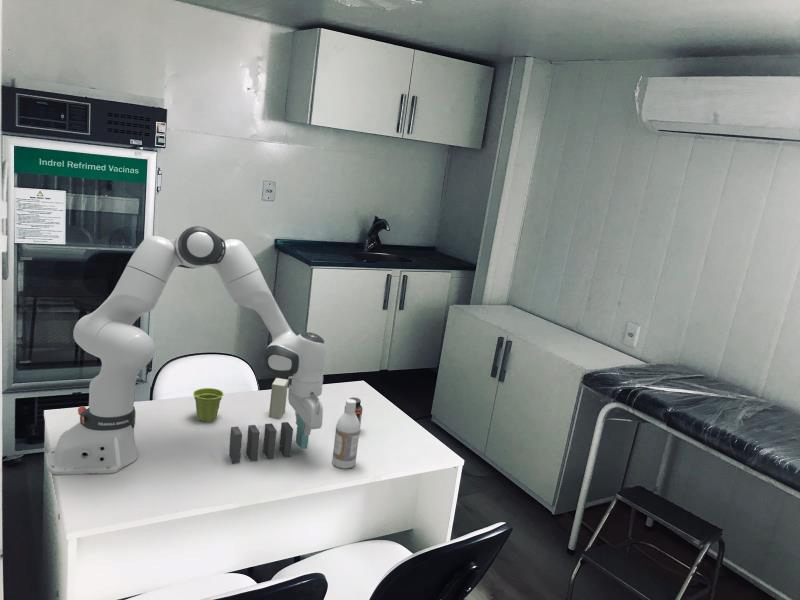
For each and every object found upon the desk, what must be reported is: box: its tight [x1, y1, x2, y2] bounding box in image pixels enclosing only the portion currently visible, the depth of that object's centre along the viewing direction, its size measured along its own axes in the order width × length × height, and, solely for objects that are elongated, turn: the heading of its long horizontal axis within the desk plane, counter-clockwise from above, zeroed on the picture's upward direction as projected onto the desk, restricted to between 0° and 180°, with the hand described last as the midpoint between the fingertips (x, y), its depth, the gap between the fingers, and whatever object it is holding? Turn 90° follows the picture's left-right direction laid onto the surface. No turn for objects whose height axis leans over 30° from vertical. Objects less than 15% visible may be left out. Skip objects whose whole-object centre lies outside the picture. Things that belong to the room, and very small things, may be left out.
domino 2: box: [245, 424, 261, 463], centre depth 183 cm, size 2×5×9 cm, turn 28°
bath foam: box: [331, 398, 361, 470], centre depth 185 cm, size 7×7×20 cm
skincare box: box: [268, 377, 289, 420], centre depth 213 cm, size 6×4×12 cm
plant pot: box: [192, 387, 224, 423], centre depth 204 cm, size 9×9×9 cm
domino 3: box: [262, 423, 278, 461], centre depth 185 cm, size 2×5×9 cm, turn 28°
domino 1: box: [228, 426, 243, 464], centre depth 180 cm, size 2×5×9 cm, turn 28°
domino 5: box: [295, 415, 310, 450], centre depth 190 cm, size 2×5×9 cm, turn 28°
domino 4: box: [278, 421, 294, 459], centre depth 187 cm, size 2×5×9 cm, turn 28°
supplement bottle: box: [343, 396, 363, 425], centre depth 208 cm, size 6×6×11 cm
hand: (302, 429), depth 189 cm, fingers closed on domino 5, 5 cm apart
